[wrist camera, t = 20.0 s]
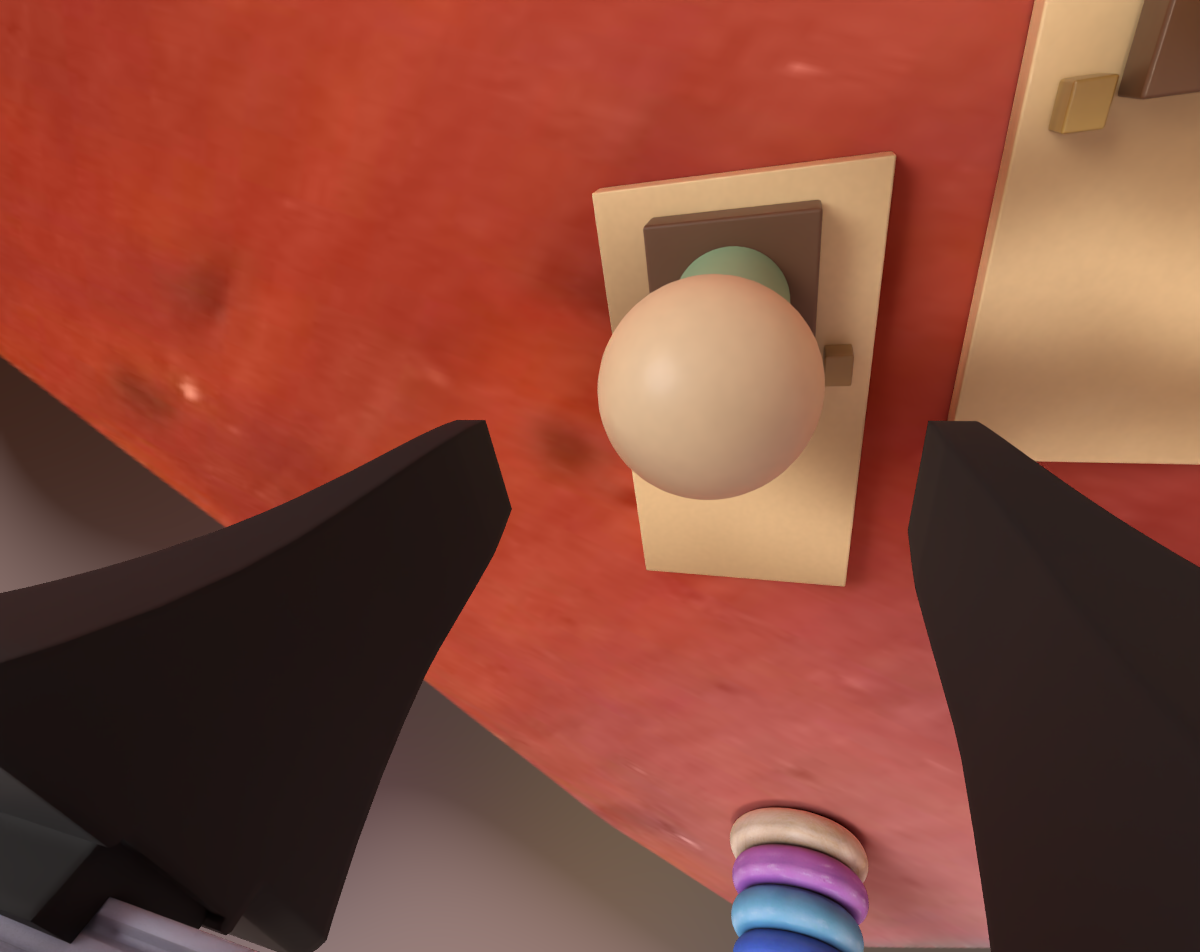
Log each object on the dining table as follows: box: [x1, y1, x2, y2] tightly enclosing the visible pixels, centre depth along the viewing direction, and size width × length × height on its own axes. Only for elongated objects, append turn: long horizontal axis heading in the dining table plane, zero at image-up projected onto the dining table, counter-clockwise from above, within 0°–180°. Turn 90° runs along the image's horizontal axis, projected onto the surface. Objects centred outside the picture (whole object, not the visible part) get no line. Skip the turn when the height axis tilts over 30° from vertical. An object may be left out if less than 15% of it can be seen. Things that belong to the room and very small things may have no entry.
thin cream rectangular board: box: [592, 151, 896, 586], centre depth 20 cm, size 15×8×2 cm, turn 9°
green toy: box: [598, 200, 825, 500], centre depth 14 cm, size 9×5×5 cm
